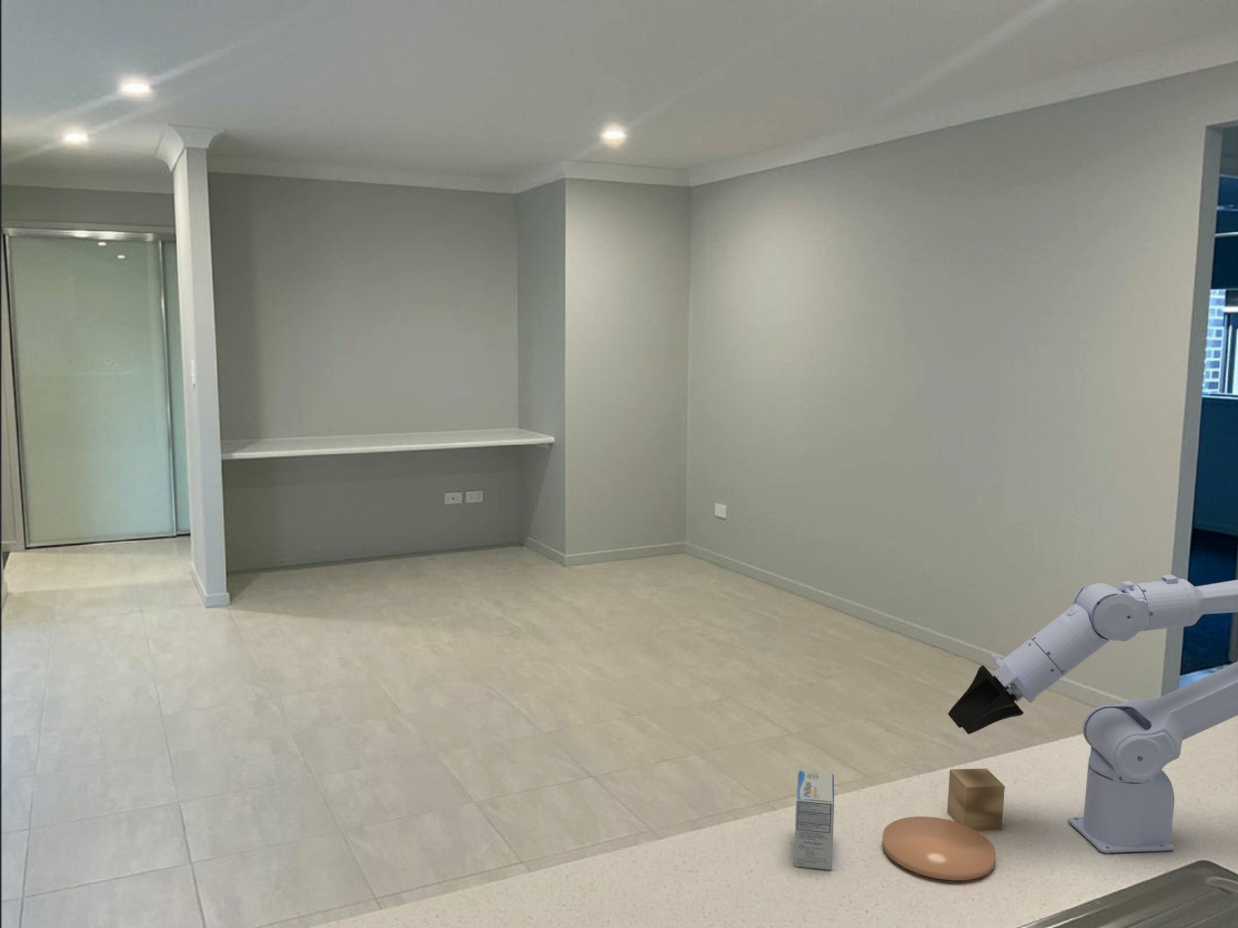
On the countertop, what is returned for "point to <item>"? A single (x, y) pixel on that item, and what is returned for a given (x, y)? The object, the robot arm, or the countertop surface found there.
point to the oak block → (976, 799)
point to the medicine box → (814, 820)
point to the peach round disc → (939, 848)
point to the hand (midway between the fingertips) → (958, 724)
